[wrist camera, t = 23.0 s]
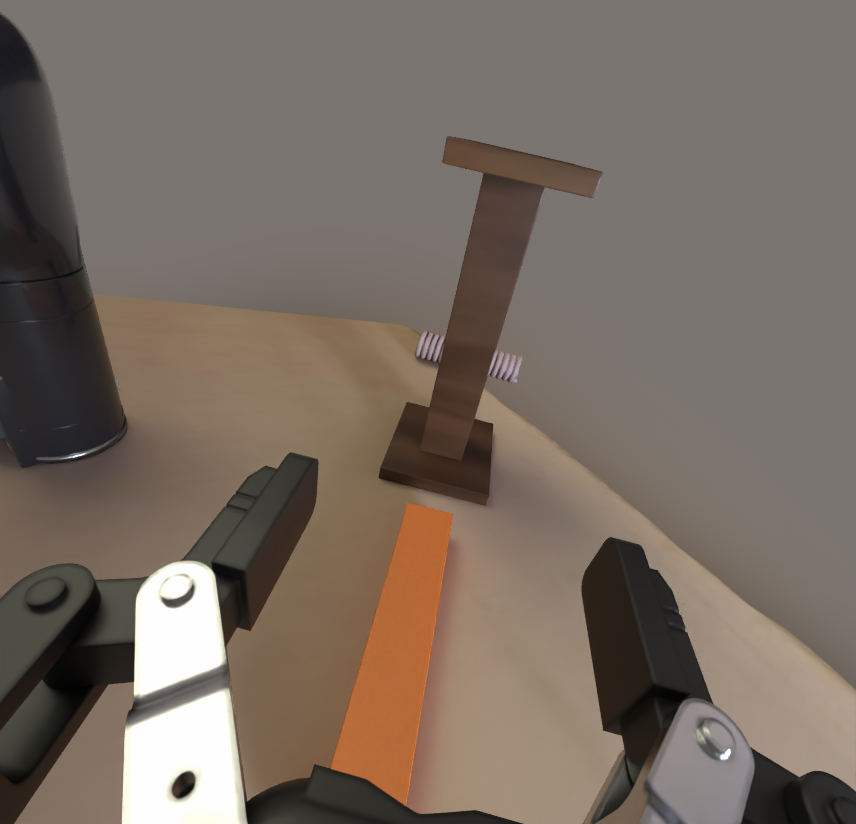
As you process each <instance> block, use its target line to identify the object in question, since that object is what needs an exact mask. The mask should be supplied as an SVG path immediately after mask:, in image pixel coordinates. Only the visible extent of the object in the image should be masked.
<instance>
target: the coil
mask: <svg viewBox="0 0 856 824" xmlns="http://www.w3.org/2000/svg"><path fill="white" fill-rule="evenodd" d="M445 338H446V336H444V335H443V336H441V337H440V335H439V334H436V335H435V334H434V333H432V332H431V333H429V332H428V331H424V332H423V333H422V335H421V337H420V339H419V342H418V345H417V348H416V352H415V356H416V357H419V356H420V353H421V348H422V345H423V342H424V346H423V349H422V353H421V358H422V359H424V358H425V357H426V353H427V349H428V346H429V350H428V354H427V360H431V357H432V353H433V350H434V347H435V350H434V355H433V358H432V360H433V361H434V362H436V361H437V358H438V355H439V352H440V355H439V359H438V362H439V363H440V360H441V355H442V351H443V347H444V343H445ZM429 343H430V345H429ZM440 349H441V350H440ZM497 357H498V359H497ZM503 357H504V352H503V351H501V352H500V353H499V356H498V350H497V349H496V350H495V353H494V357H493V360H492V363H491V366H490V369H489V373H488V375H489V374H490V376H491V377H492V378H493V377H495V376H496V378H497V379H500V378H501V377H502V380H504V381H505V380H508V382H512V381H513V382H514V383H517V382H518V372H519V368H520V364H521V361H522V357H521V356H518V358H517V361H516V364H515V367H514V363H515V359H516V355H515V354H513V355H512V357H511V360H510V363H509V365H508V362H509V358H510V353H506V355H505V358H504V361H503ZM496 361H497V362H496ZM502 362H503V363H502ZM507 367H508V368H507ZM513 367H514V370H513Z"/></svg>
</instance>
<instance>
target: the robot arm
mask: <svg viewBox="0 0 856 824" xmlns="http://www.w3.org/2000/svg"><path fill="white" fill-rule="evenodd" d="M118 391H120V389H119V385H118V381H117V378H114V374H113V371H112V367H111V363H110V359H109V355H108V351H107V348H106V344H105V340H104V336H103V332H102V328H101V325H100V321H99V317H98V313H97V309H96V305H95V302H94V298H93V294H92V290H91V286H90V283H89V278H88V274H87V271H86V267H85V264H84V259H83V255H82V251H81V246H80V238H79V226H78V217H77V211H76V206H75V202H74V198H73V194H72V189H71V184H70V179H69V175H68V170H67V164H66V159H65V154H64V148H63V143H62V137H61V132H60V126H59V121H58V117H57V112H56V108H55V103H54V99H53V95H52V92H51V89H50V85H49V82H48V79H47V76H46V74H45V71H44V69H43V67H42V64H41V62H40V59H39V57H38V55H37V54H36V52H35V50H34V49H33V47H32V45H31V43H30V42H29V40H28V39H27V37H26V36H25V35H24V33H23V32H22V31H21V30H20V28H19V27H18V26H17V25H16V24H15V23H14V22H13V21H12V20H11V19H9V18H8V17H7V16H6V15H4V14H3V13H1V12H0V438H4V439H5V441H6V443H7V446H8V448H9V450H10V451H11V453H12V454H13V455H14V456H15V457H16V459H17V461H18V462H19V464H20V466H21V467H27V466H30V465H33V464H38V463H62V462H69V461H74V460H79V459H82V458H86V457H89V456H92V455H95V454H97V453H99V452H102V451H104V450H106V449H107V448H109V447H111V446H112V445H114V444H115V443H116V442H118V441H119V440H120V439H121V438H122V437H123V435H124V434H125V432H126V430H127V420H126V416H125V414H124V411H123V407H122V405H121V401H120V398H119V394H118ZM317 480H318V460H317V459H315V458H311V457H307V456H303V455H299V454H296V453H292V452H291V453H289V454H288V455H287V456H286V457H285V459H284V460H283V462H282V463H281V464H280V466H279V467H278V469H275V468H272V467H268V466H265V467H263V468H261V469H260V470H258V471H257V472H255V473H253V474H252V475H250V476H248V477H247V479H246V480H245V481H244V483H243V484H242V485H241V486H240V488H239V489H238V490H237V491H236V494H235V495H233V497H232V498H231V499H230V500H229V502H228V503H227V505H226V507H224V508H223V509H222V511H221V512H220V513H219V514H218V516H217V517H216V518H215V519H214V521H213V522H212V523H211V524H210V526H209V527H208V528H207V530H206V531H205V532H204V533H203V535H202V536H201V537H200V538H199V540H198V541H197V542H196V544H195V545H194V546H193V547H192V549H191V550H190V551H189V552H188V554H187V555H186V556H185V557H184V558H183V559H182V560H181V561H180V562H175V563H172V564H169V565H167V566H165V567H163V568H161V569H159V570H157V571H156V572H155V573H153V574H152V575H151V576H148V577H143V578H131V579H108V580H95V579H94V577H93V575H92V573H91V571H89V570H88V569H87V568H86V567H84V566H81V565H78V564H71V563H70V564H57V565H53V566H49V567H46V568H43V569H40V570H38V571H36V572H34V573H32V574H30V575H28V576H26V577H25V578H23V579H22V580H20V581H19V582H18V583H16V584H15V585H14V586H13V587H12V588H11V589H10V590H9V591H8V592H7V593H5V594H4V595H3V596H2V597H1V598H0V824H14V823H15V821H16V820H17V818H18V817H19V815H20V814H21V812H22V811H23V809H24V808H25V806H26V805H27V804H28V802H29V801H30V799H31V798H32V796H33V795H34V793H35V792H36V790H37V789H38V787H39V786H40V784H41V783H42V781H43V780H44V778H45V777H46V776H47V774H48V773H49V771H50V770H51V768H52V767H53V765H54V764H55V762H56V761H57V759H58V758H59V756H60V755H61V753H62V752H63V750H64V749H65V748H66V746H67V745H68V743H69V742H70V740H71V739H72V737H73V736H74V734H75V733H76V731H77V730H78V728H79V727H80V725H81V724H82V722H83V721H84V720H85V718H86V717H87V715H88V714H89V712H90V711H91V709H92V708H93V706H94V705H95V703H96V702H97V700H98V699H99V697H100V696H101V694H102V693H103V692H104V690H105V689H106V687H107V686H108V684H116V683H127V682H134V702H133V707H132V709H131V710H130V711H129V712H128V715H127V720H126V728H125V748H124V779H123V810H122V824H522V823H519V822H515V821H512V820H508V819H505V818H501V817H498V816H494V815H491V814H487V813H484V812H480V811H477V810H473V811H460V812H447V813H434V814H418V813H416V812H414V811H412V810H411V809H409V808H408V807H406V806H405V805H403V804H402V803H401V802H399V801H398V800H396V799H395V798H393V797H392V796H390V795H389V794H387V793H386V792H385V791H383V790H382V789H380V788H379V787H377V786H376V785H374V784H373V783H372V782H370V781H369V780H367V779H365V778H361V777H358V776H354V775H351V774H347V773H344V772H340V771H337V770H333V769H330V768H326V767H323V766H319V765H316V764H314V767H313V770H312V774H311V777H310V778H302V779H295V780H291V781H287V782H283V783H281V784H278V785H276V786H273V787H271V788H269V789H267V790H265V791H263V792H261V793H259V794H258V795H256V796H254V797H253V798H252V799H250V800H249V801H247V796H246V789H245V781H244V774H243V766H242V759H241V752H240V745H239V738H238V731H237V724H236V717H235V709H234V702H233V694H232V687H231V680H230V672H229V665H228V657H227V650H226V646H227V644H228V642H229V640H230V639H231V637H232V635H233V633H234V632H235V630H236V628H237V627H238V628H242V629H245V630H249V631H251V629H252V627H253V625H254V624H255V622H256V620H257V618H258V616H259V614H260V612H261V610H262V609H263V607H264V605H265V603H266V601H267V599H268V597H269V595H270V594H271V592H272V590H273V588H274V586H275V584H276V582H277V580H278V578H279V577H280V575H281V573H282V571H283V569H284V567H285V565H286V563H287V562H288V560H289V558H290V556H291V554H292V552H293V550H294V548H295V547H296V545H297V543H298V541H299V539H300V537H301V535H302V533H303V532H304V530H305V528H306V526H307V524H308V522H309V520H310V518H311V516H312V513H313V510H314V507H315V503H316V497H317ZM581 590H582V599H583V605H584V612H585V618H586V624H587V630H588V637H589V643H590V649H591V656H592V662H593V668H594V675H595V681H596V687H597V694H598V700H599V706H600V712H601V719H602V725H603V731H607V732H610V733H614V734H618V735H621V736H622V738H623V743H624V750H623V751H622V752H621V753H620V754H619V756H618V758H617V760H616V761H615V763H614V765H613V767H612V769H611V771H610V773H609V775H608V777H607V778H606V780H605V782H604V784H603V786H602V788H601V790H600V792H599V794H598V795H597V797H596V799H595V801H594V803H593V805H592V807H591V809H590V811H589V812H588V814H587V816H586V818H585V820H584V822H583V824H856V791H854V790H853V789H852V788H851V787H850V786H848V785H847V784H846V783H844V782H843V781H841V780H840V779H838V778H836V777H835V776H833V775H831V774H828V773H826V772H822V771H812V772H809V773H807V774H805V775H803V776H801V777H798V776H796V775H795V774H793V773H791V772H790V771H788V770H786V769H785V768H783V767H781V766H780V765H778V764H777V763H775V762H773V761H772V760H770V759H768V758H767V757H765V756H763V755H762V754H760V753H758V752H757V751H755V750H754V749H752V748H751V747H750V746H749V744H748V742H747V740H746V738H745V736H744V735H743V733H742V731H741V730H740V729H739V727H738V726H737V725H736V724H735V722H734V721H733V720H732V719H731V718H730V717H729V716H728V715H727V714H726V713H725V712H723V711H722V710H721V709H720V708H718V707H717V706H715V705H714V704H713V702H712V699H711V697H710V694H709V692H708V689H707V686H706V683H705V681H704V678H703V675H702V672H701V669H700V667H699V664H698V661H697V658H696V656H695V653H694V650H693V647H692V645H691V642H690V639H689V636H688V634H687V632H685V625H684V622H683V620H682V617H681V615H679V609H678V606H677V603H676V600H675V598H674V595H673V592H672V590H671V588H670V587H669V586H668V584H667V583H666V581H665V580H664V579H663V577H662V576H661V575H660V573H659V572H658V570H654V569H650V568H649V565H648V562H647V559H646V556H645V552H644V550H643V548H642V547H641V546H640V545H639V544H635V543H631V542H627V541H623V540H620V539H616V538H612V537H610V538H608V539H606V541H605V542H604V543H603V545H602V546H601V548H600V550H599V551H598V553H597V554H596V556H595V557H594V559H593V560H592V562H591V563H590V565H589V566H588V568H587V569H586V571H585V573H584V576H583V580H582V589H581Z"/></svg>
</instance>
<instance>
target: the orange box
mask: <svg viewBox="0 0 856 824" xmlns="http://www.w3.org/2000/svg"><path fill="white" fill-rule="evenodd" d="M452 518H453V514H450V513H446V512H442V511H438V510H435V509H431V508H427V507H423V506H419V505H416V504H412V503H408V504H407V508H406V511H405V514H404V518H403V521H402V525H401V528H400V531H399V535H398V538H397V542H396V545H395V548H394V552H393V555H392V559H391V562H390V565H389V569H388V572H387V576H386V579H385V582H384V586H383V589H382V593H381V596H380V600H379V603H378V606H377V610H376V613H375V617H374V620H373V623H372V627H371V630H370V634H369V637H368V640H367V644H366V647H365V651H364V654H363V657H362V661H361V664H360V668H359V671H358V674H357V678H356V681H355V685H354V688H353V691H352V695H351V698H350V702H349V705H348V709H347V712H346V715H345V719H344V722H343V726H342V729H341V732H340V736H339V739H338V743H337V746H336V749H335V753H334V756H333V760H332V763H331V766H330V769H333V770H337V771H340V772H344V773H347V774H351V775H354V776H358V777H361V778H365V779H367V780H369V781H370V782H372V783H373V784H374V785H376V786H377V787H379V788H380V789H382V790H383V791H385V792H386V793H387V794H389V795H390V796H392V797H393V798H395V799H396V800H398V801H399V802H401V803H402V804H403V805H405V806H406V803H407V797H408V791H409V785H410V779H411V772H412V766H413V760H414V754H415V747H416V741H417V735H418V729H419V723H420V716H421V710H422V704H423V698H424V692H425V685H426V679H427V673H428V667H429V660H430V654H431V648H432V642H433V636H434V629H435V623H436V617H437V611H438V605H439V598H440V592H441V586H442V580H443V573H444V567H445V561H446V555H447V549H448V542H449V536H450V530H451V524H452Z"/></svg>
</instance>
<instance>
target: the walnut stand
mask: <svg viewBox="0 0 856 824" xmlns="http://www.w3.org/2000/svg"><path fill="white" fill-rule="evenodd" d="M442 162H443V163H444V164H448V165H453V166H457V167H461V168H465V169H470V170H474V171H478V172H482V173H484V174H483V179H482V183H481V187H480V191H479V196H478V200H477V204H476V209H475V214H474V217H473V222H472V226H471V231H470V235H469V239H468V244H467V248H466V252H465V256H464V261H463V265H462V269H461V274H460V278H459V282H458V286H457V291H456V295H455V299H454V304H453V308H452V312H451V317H450V321H449V326H448V330H447V334H446V338H445V343H444V347H443V351H442V355H441V360H440V364H439V368H438V373H437V377H436V381H435V386H434V390H433V394H432V399H431V403H430V407H425V406H421V405H417V404H413V403H409V402H407V403H406V406H405V408H404V411H403V413H402V416H401V418H400V421H399V423H398V426H397V428H396V431H395V433H394V436H393V438H392V440H391V443H390V445H389V448H388V450H387V453H386V455H385V458H384V460H383V463H382V465H381V468H380V474H379V478H383V479H387V480H390V481H394V482H398V483H402V484H406V485H410V486H413V487H417V488H421V489H425V490H429V491H433V492H436V493H440V494H444V495H448V496H452V497H456V498H459V499H463V500H467V501H471V502H475V503H479V504H482V505H486V502H487V499H488V497H489V485H490V469H491V452H492V436H493V424H492V423H488V422H484V421H480V420H476V419H474V418H475V415H476V412H477V408H478V405H479V402H480V399H481V395H482V392H483V389H484V386H485V382H486V379H487V376H488V373H489V369H490V366H491V363H492V360H493V357H494V353H495V350H496V347H497V344H498V340H499V337H500V334H501V331H502V327H503V324H504V321H505V317H506V314H507V311H508V308H509V305H510V301H511V298H512V295H513V292H514V289H515V285H516V282H517V279H518V276H519V272H520V269H521V266H522V263H523V259H524V256H525V253H526V249H527V246H528V243H529V240H530V237H531V233H532V230H533V227H534V224H535V221H536V217H537V214H538V211H539V208H540V204H541V201H542V198H543V194H544V191H545V188H546V187H547V188H551V189H555V190H560V191H564V192H568V193H572V194H577V195H581V196H585V197H589V198H594V197H595V194H596V191H597V188H598V186H599V183H600V180H601V178H602V175H603V172H601V171H597V170H594V169H590V168H586V167H582V166H578V165H575V164H571V163H566V162H562V161H558V160H554V159H550V158H545V157H541V156H537V155H532V154H528V153H523V152H519V151H514V150H510V149H506V148H501V147H497V146H493V145H489V144H484V143H480V142H476V141H471V140H466V139H461V138H456V137H450V136H448V137H447V139H446V145H445V150H444V156H443V161H442Z"/></svg>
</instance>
